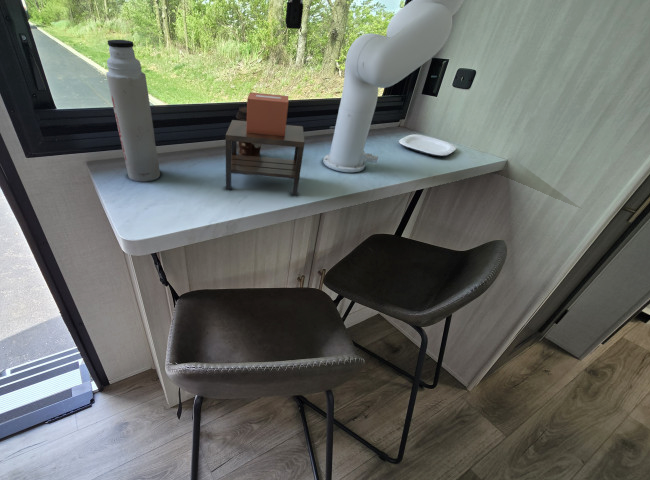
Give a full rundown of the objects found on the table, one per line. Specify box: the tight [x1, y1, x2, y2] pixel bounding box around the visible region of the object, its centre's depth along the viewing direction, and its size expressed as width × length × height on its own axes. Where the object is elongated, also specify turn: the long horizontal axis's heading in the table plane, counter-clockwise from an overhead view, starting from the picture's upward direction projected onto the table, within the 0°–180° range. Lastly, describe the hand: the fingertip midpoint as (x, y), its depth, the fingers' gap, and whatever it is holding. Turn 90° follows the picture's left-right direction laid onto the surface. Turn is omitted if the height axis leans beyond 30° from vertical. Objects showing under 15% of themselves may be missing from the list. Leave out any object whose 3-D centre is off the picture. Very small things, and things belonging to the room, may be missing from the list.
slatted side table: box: [225, 119, 306, 197], centre depth 82 cm, size 18×12×13 cm, turn 87°
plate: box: [398, 133, 458, 157], centre depth 116 cm, size 18×18×2 cm
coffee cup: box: [235, 105, 262, 157], centre depth 95 cm, size 9×8×13 cm
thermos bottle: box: [105, 39, 161, 182], centre depth 75 cm, size 8×8×28 cm
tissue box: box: [246, 91, 289, 136], centre depth 75 cm, size 6×9×7 cm
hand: (292, 26), depth 73 cm, fingers open, 9 cm apart
